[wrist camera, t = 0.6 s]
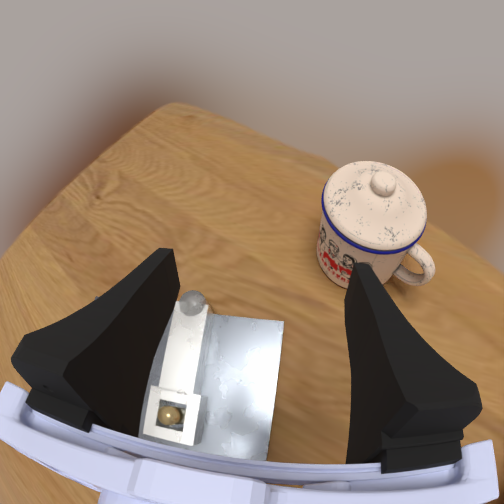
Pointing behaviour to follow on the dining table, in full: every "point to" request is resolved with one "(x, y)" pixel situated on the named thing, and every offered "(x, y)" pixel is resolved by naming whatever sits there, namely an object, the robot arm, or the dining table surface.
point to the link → (183, 371)
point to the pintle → (171, 415)
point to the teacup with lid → (372, 224)
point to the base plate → (231, 387)
